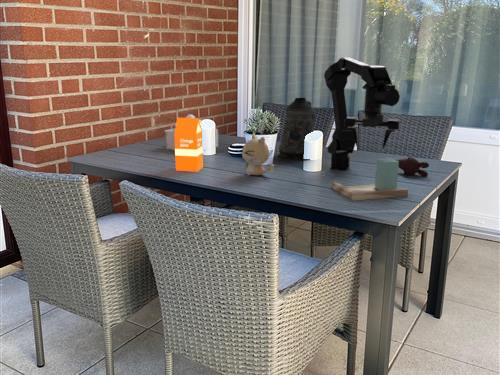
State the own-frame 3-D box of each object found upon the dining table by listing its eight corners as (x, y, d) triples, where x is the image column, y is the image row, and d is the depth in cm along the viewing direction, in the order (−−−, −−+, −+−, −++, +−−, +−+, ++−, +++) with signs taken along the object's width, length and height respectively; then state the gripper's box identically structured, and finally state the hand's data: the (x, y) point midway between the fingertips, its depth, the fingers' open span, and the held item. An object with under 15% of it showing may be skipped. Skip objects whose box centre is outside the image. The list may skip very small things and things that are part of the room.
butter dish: (218, 147, 239) (217, 113, 235) (194, 153, 225) (193, 118, 220) (189, 143, 248) (188, 111, 244) (165, 149, 234) (163, 115, 229)
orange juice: (197, 171, 192) (195, 119, 186) (175, 170, 193) (173, 118, 188) (203, 167, 199) (202, 116, 193) (182, 165, 201) (180, 116, 195)
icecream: (386, 157, 188) (425, 166, 180) (394, 149, 193) (433, 157, 184) (385, 173, 192) (423, 182, 183) (393, 165, 196) (431, 174, 188)
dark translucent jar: (277, 159, 213) (278, 100, 206) (280, 150, 231) (281, 95, 224) (316, 160, 211) (318, 100, 204) (316, 151, 229) (318, 96, 222)
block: (374, 188, 168) (377, 159, 165) (388, 187, 169) (390, 158, 166) (382, 192, 163) (385, 162, 160) (396, 191, 164) (398, 161, 162)
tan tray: (331, 189, 169) (332, 181, 168) (382, 184, 174) (383, 177, 173) (352, 201, 155) (353, 194, 154) (407, 196, 160) (408, 189, 159)
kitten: (235, 170, 193) (235, 132, 189) (259, 168, 196) (260, 131, 192) (249, 180, 179) (249, 139, 175) (275, 177, 183) (275, 137, 179)
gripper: (342, 104, 169) (339, 149, 173) (399, 106, 162) (395, 153, 167) (347, 101, 179) (345, 144, 183) (402, 103, 172) (398, 147, 177)
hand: (370, 147), depth 177 cm, fingers open, 9 cm apart
